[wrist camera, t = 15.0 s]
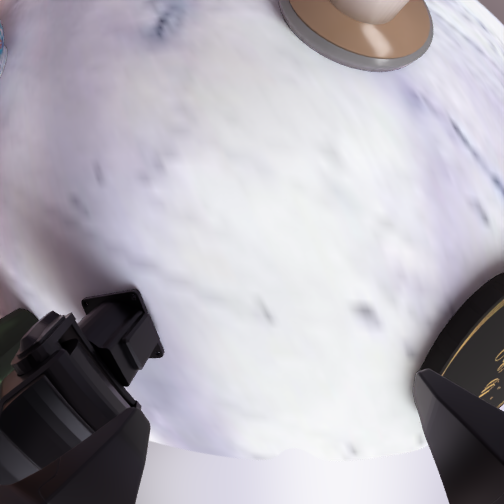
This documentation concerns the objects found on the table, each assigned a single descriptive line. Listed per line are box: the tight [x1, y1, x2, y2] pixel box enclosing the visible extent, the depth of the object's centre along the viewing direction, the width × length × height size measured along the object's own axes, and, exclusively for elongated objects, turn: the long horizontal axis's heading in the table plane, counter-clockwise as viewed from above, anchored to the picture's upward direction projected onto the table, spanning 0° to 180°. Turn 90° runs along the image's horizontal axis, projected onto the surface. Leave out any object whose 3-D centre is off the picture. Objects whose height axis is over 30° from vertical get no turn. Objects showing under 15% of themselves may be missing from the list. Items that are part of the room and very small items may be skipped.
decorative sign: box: [415, 273, 504, 409], centre depth 20 cm, size 29×3×25 cm
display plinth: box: [279, 0, 433, 72], centre depth 13 cm, size 12×12×2 cm
